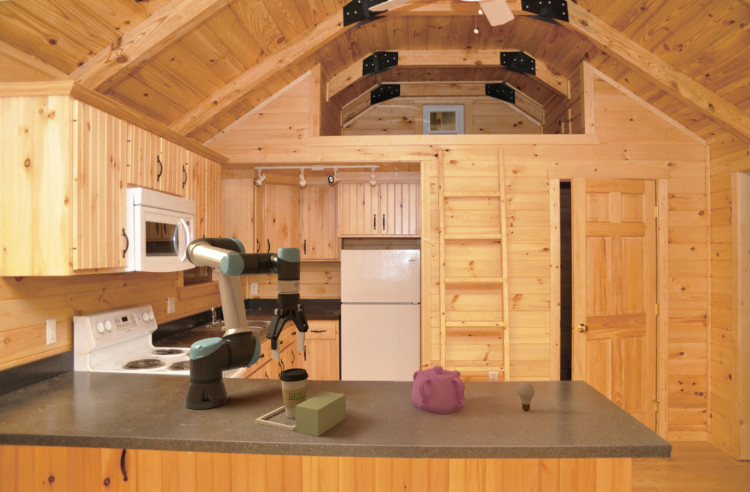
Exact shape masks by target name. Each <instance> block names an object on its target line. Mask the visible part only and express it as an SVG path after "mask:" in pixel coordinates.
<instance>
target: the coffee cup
mask: <svg viewBox="0 0 750 492" xmlns="http://www.w3.org/2000/svg"><path fill="white" fill-rule="evenodd" d="M308 378H309V373H308V370H306V369H305V368H302V367H301V368H300V367H299V368H298V367H294V368H287V369H284V370H282V371H281V373H280V376H279V380H280V382H281V391H282V393H281V394H282V400H283V406H285V410H284V413H285V417H286V418H288V419H295V406H296V405H298V404H300V403H302V402H304V401H306V400H307V393H308V391H307V389H308Z"/></svg>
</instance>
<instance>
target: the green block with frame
mask: <svg viewBox="0 0 750 492" xmlns="http://www.w3.org/2000/svg"><path fill="white" fill-rule="evenodd" d="M346 410H347V409H346V394H344V393H340V392H339V393H338V392H332V391H326V390H324V391H322V392H320V393H317V394H316V395H314V396H312V397H310V398H308V399H306V401H304V402H302V403H300V404H298V405H296V406H295V418H294V419H295V420H294V421H295V423H294V424H293V425H288V424H284V423H279V422H274V421H271V420H267V419H268V418H271V417H272V416H274V415H276V414H278V413H280V412H282V411H285V406H284V405H282V406H279V407H277V408H275V409H274V410H271V411H269V412H268V413H266V414H263V415H261V416H259V417H258V418H255V419H254V423H255V424H260V425H263V426H267V427H273V428H276V429H277V428H279V429H283V430H287V431H291V432H293V431H295V432H296V433H301V434H306V435H308V436H309V435H311V436H314V437H319V436H320V435H321V436H322V435H323V434H324V433H325V432H328V430H330V429H332V428H333V427H335V426H336V425H338V424H339V423H340V422H342V421H343V420H345V419H346V413H347V412H346Z"/></svg>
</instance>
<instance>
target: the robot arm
mask: <svg viewBox="0 0 750 492" xmlns="http://www.w3.org/2000/svg"><path fill="white" fill-rule="evenodd" d="M185 257H186V260H188V262H189V263H191V264H192V265H195V266H198V267H210V268H212V272H213V273H214V274H216V275H217V280H218V286H219V287H218V288H219V293H220V300H221V307H222V308H221V309H222V314H223V315H222V316H223V321H224V328H225V333H224V334H223V335H222V338H221V337H217V336H216V337H208V338H203V339H200V340H198V341H197V340H196V341H195V342H193V343H192V344H191V346H190V348H189V354H188V357H189V385H188V389H187V392H186V396H185V397H184V406H185V408H188V409H191V410H205V409H206V410H207V409H213V408H217V407H219V406H220V407H221V406H222V405H225V404H226V403H227V402H228V401H229V399H228V397H229V396H228V392H227V390H226V386H225V384H224V380H223V379H224V378H223V375H224V374H223V373H224V372H228V371H232V370H237V369H243V368H244V369H245V368H247V367H252V366H254V365H255V364H257V362H258V361H259V360H260V356H261V351H262V347H261V345H262V344H261V340H260V339H259V338H260V337H258V336H257V335H253V333H254V332H253V330H252V329H250V328H249V326H248V321H247V315H246V307H245V300H244V295H243V289H242V288H243V287H242V283H241V276H252V275H254V276H255V275H260V276H261V275H277V292H278V294H277V304H278V305H279V308H273V309H272V317H271V320H270V323H269V325H268V330H267V332H266V336H265V337H266V339H268V340H270V350H271V360H275V361H279V360H281V359H280V358H281V355H280V353H281V352H280V349H281V345H280V344H281V339H279V337H280V335H281V333H282V331H283V329H284V327H285V325H286V324H287V323H288V321H291V320H292V322H293V324H294V325H295V327H296V329H297V332H296V351H298V352H305V337H306V333H308V331H309V328H310V327H309V322H308V320H307V316H306V313H305V307H304V305H303V304H301V294H300V291H301V261H302V258H301V250H300V248H298V247H279V248H278V249H277V252H253V253H251V252H249V253H248V252H246V249H245V246H244V243H243V242H242V241H241V240H240V239H238V238H234V237H233V238H231V237H198V238H197V239H194V240H192V241H191V242H190V243H189V244H188V245H187V246H186V249H185Z"/></svg>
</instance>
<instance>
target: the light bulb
mask: <svg viewBox="0 0 750 492" xmlns="http://www.w3.org/2000/svg"><path fill="white" fill-rule="evenodd" d="M534 387H535V386H533V384H531V383H530V382H528V381H522V382H520V383H519V384H518V385H517V388H516V392H517V395H518V396H519V398H520V402H521V408H522V410H523V411H525V412H527V411H529V410H530V409H531V402H532V399H533V397H535V392H536V391H535V388H534Z"/></svg>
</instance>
